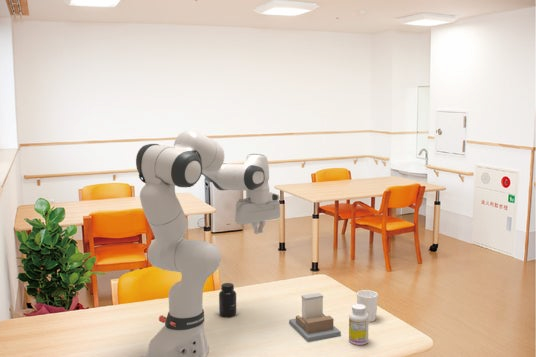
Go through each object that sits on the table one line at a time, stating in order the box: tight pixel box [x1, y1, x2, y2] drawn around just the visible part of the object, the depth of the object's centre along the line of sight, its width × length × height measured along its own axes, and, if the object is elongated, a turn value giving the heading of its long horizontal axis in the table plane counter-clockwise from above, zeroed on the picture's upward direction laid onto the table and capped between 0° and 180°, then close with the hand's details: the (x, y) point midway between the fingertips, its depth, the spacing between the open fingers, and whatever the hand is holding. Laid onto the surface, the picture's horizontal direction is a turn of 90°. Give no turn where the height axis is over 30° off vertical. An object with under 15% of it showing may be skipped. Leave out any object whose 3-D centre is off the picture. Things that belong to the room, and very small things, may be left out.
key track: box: [288, 313, 342, 343], centre depth 196 cm, size 16×13×6 cm
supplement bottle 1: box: [218, 282, 237, 318], centre depth 211 cm, size 7×7×12 cm
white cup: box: [356, 289, 379, 323], centre depth 205 cm, size 8×8×10 cm
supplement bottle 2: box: [348, 303, 369, 346], centre depth 186 cm, size 7×7×13 cm
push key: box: [301, 292, 324, 321], centre depth 197 cm, size 3×7×11 cm, turn 111°
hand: (258, 233), depth 203 cm, fingers closed
